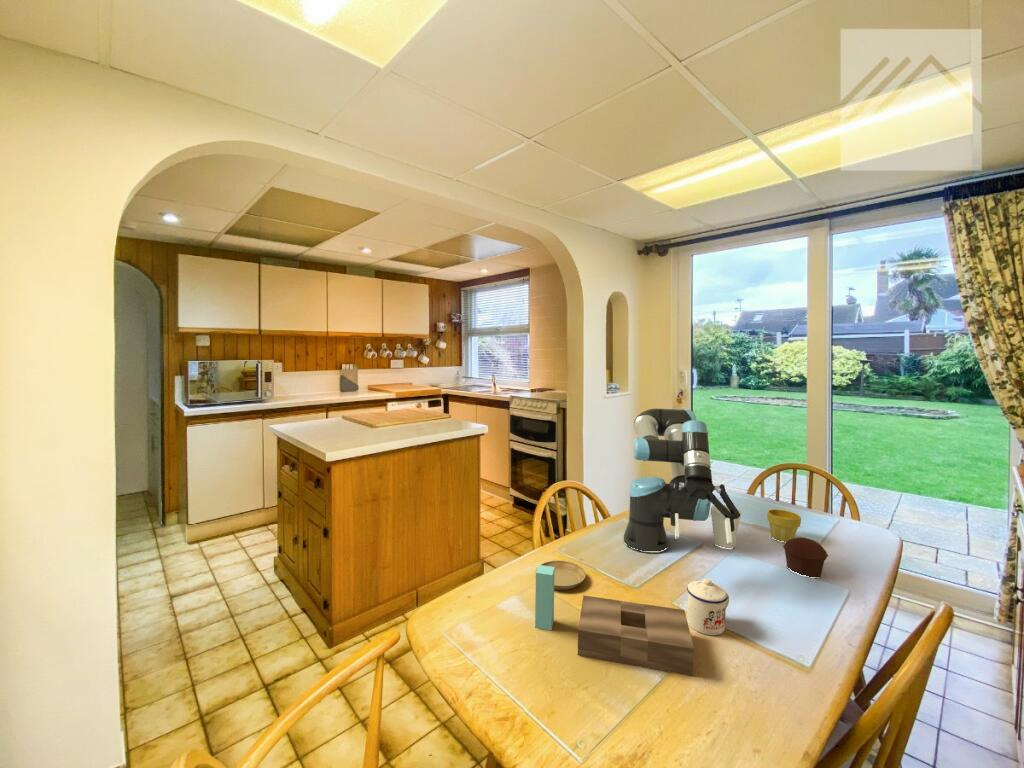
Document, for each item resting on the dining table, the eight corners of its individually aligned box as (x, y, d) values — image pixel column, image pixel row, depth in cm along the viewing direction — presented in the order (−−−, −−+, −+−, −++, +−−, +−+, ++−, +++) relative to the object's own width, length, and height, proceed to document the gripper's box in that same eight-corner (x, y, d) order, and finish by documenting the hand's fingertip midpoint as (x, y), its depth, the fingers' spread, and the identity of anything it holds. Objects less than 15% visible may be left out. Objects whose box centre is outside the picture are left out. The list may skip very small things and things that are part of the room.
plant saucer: (545, 597, 118) (545, 588, 118) (529, 571, 132) (529, 563, 132) (594, 590, 122) (594, 581, 122) (573, 565, 136) (573, 557, 136)
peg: (538, 618, 108) (538, 564, 107) (553, 620, 108) (554, 567, 107) (535, 628, 105) (535, 572, 104) (551, 630, 104) (552, 575, 103)
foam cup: (703, 541, 154) (705, 506, 153) (724, 538, 157) (725, 503, 156) (724, 553, 145) (725, 516, 144) (745, 549, 148) (747, 513, 147)
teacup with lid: (706, 640, 100) (708, 593, 100) (677, 618, 109) (679, 574, 108) (742, 628, 105) (745, 582, 104) (712, 608, 114) (714, 565, 113)
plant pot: (799, 537, 158) (800, 512, 157) (800, 548, 149) (801, 521, 149) (766, 531, 163) (767, 506, 163) (765, 541, 155) (767, 515, 154)
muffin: (813, 563, 139) (815, 533, 138) (835, 581, 128) (837, 549, 127) (774, 561, 140) (776, 531, 139) (793, 579, 129) (795, 547, 128)
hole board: (582, 618, 109) (583, 595, 108) (683, 633, 103) (684, 609, 102) (577, 655, 95) (578, 629, 95) (693, 676, 89) (694, 648, 89)
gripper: (655, 461, 130) (657, 532, 119) (745, 467, 124) (756, 542, 113) (653, 470, 137) (655, 538, 126) (739, 476, 130) (748, 548, 120)
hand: (703, 540), depth 119 cm, fingers open, 13 cm apart
